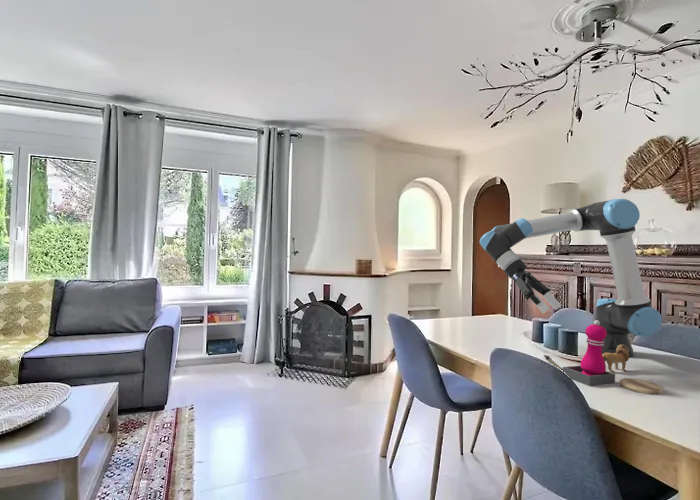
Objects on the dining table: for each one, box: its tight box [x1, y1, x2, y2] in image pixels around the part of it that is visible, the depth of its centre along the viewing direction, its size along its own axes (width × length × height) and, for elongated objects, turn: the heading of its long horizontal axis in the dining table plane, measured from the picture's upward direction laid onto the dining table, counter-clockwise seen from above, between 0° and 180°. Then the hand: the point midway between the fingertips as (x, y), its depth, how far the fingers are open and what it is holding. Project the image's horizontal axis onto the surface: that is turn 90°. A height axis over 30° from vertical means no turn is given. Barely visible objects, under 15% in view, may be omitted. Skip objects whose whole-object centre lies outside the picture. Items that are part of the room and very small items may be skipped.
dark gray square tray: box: [562, 365, 616, 387], centre depth 131 cm, size 11×11×3 cm
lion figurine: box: [602, 344, 630, 374], centre depth 142 cm, size 15×5×9 cm, turn 116°
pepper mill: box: [580, 319, 607, 376], centre depth 130 cm, size 7×7×20 cm
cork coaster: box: [618, 377, 664, 395], centre depth 124 cm, size 11×11×1 cm
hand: (552, 309), depth 139 cm, fingers open, 13 cm apart
